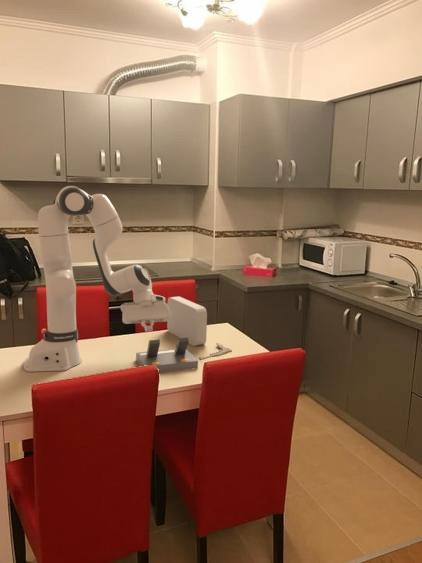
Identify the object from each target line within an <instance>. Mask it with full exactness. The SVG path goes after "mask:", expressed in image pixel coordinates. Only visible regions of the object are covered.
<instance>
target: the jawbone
mask: <svg viewBox="0 0 422 563" xmlns="http://www.w3.org/2000/svg"><path fill="white" fill-rule="evenodd" d="M216 345H217V347H219V350H218V351H216V352H213V353H209V355H207V356H199V358H198V360H199V359H200V360H199V361H201V359H202V360H205V359H209V358H215V357H221V356H224V355H228V354H229V353H231V352H232V351H233V350H232V349H231V348H228V347H226V346H223V344H220V343H219V342H217V343H216Z"/></svg>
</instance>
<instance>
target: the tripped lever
mask: <svg viewBox="0 0 422 563" xmlns="http://www.w3.org/2000/svg"><path fill="white" fill-rule="evenodd" d="M160 344H161V342H160V339H151V340H149V341H148V345H147V351H146V352H147V354H146V358H150V357H158V351H159V350H160Z"/></svg>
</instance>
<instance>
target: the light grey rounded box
mask: <svg viewBox="0 0 422 563" xmlns="http://www.w3.org/2000/svg"><path fill="white" fill-rule="evenodd" d="M167 305H168V306H169V309H170V313H171V318H170V320H169V321H166V322H167V325H166V326H167V331H168V332H169V333H170V334H173V335H174V336H176V337H177V338H188V340H189V342H188V344H190V345H192V346H194V347H196V346H197V347H198V346H203V345H205V344H206V343H207V332H208V331H207V329H208V327H207V326H208V324H207V323H208V322H207V321H208V312H207V309H206V307H205V306H203V305H201V304H198V303H195V302H193V301H191V300H188V299H186V298H184V297H182V296H171V297H170V296H169V297H168V298H167Z"/></svg>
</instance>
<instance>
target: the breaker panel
mask: <svg viewBox="0 0 422 563" xmlns="http://www.w3.org/2000/svg"><path fill="white" fill-rule="evenodd" d="M175 349H176V348H171V349H170V348H169V349H161V350H160V349H159V350H158V357H150V358H146V354H147V351H142V352H136V353H135V360H136V362H137V364H138V366H139V367H140V366H144V365H155V366H156V367H157V368H158V369H159V372H160V373H169V372H178V371H186V369H187V370H192V368H195V369H198V368H199V359H197V357H195V356H194V355H193V354H192V352H190V350H189V349H188V348H187V349H186V352H185V354H179V355H174V351H175ZM160 373H159V374H160Z"/></svg>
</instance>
